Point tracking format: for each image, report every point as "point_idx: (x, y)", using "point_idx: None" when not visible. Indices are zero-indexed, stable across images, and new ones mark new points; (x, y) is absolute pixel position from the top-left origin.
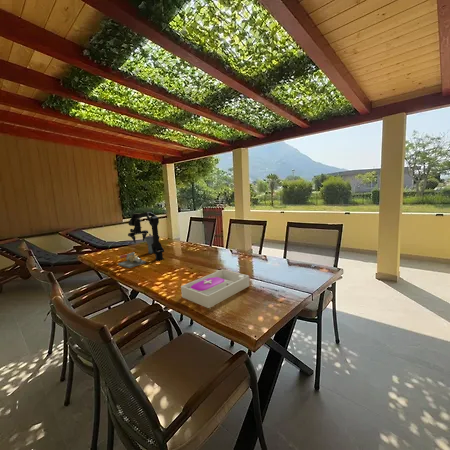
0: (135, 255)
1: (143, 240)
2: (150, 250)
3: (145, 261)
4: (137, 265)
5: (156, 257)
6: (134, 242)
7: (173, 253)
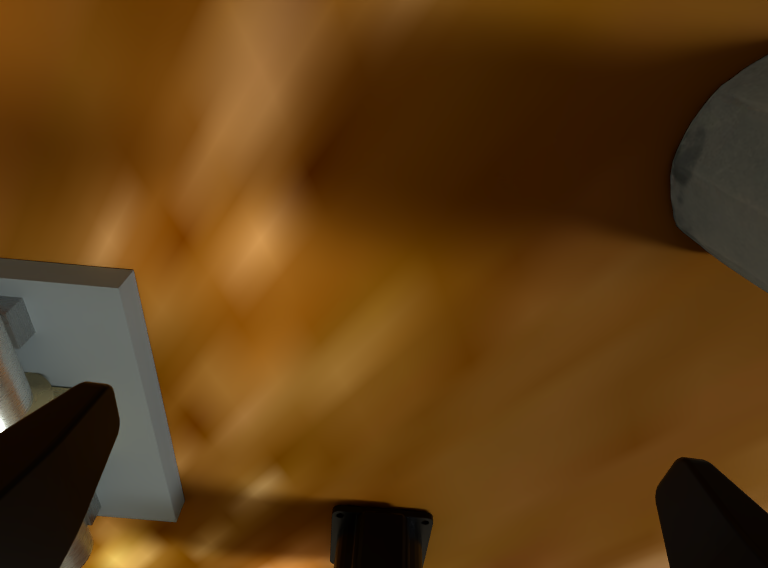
0: None
1: (673, 515)
2: (716, 222)
3: (168, 521)
4: None
5: (334, 565)
6: (65, 405)
7: None
